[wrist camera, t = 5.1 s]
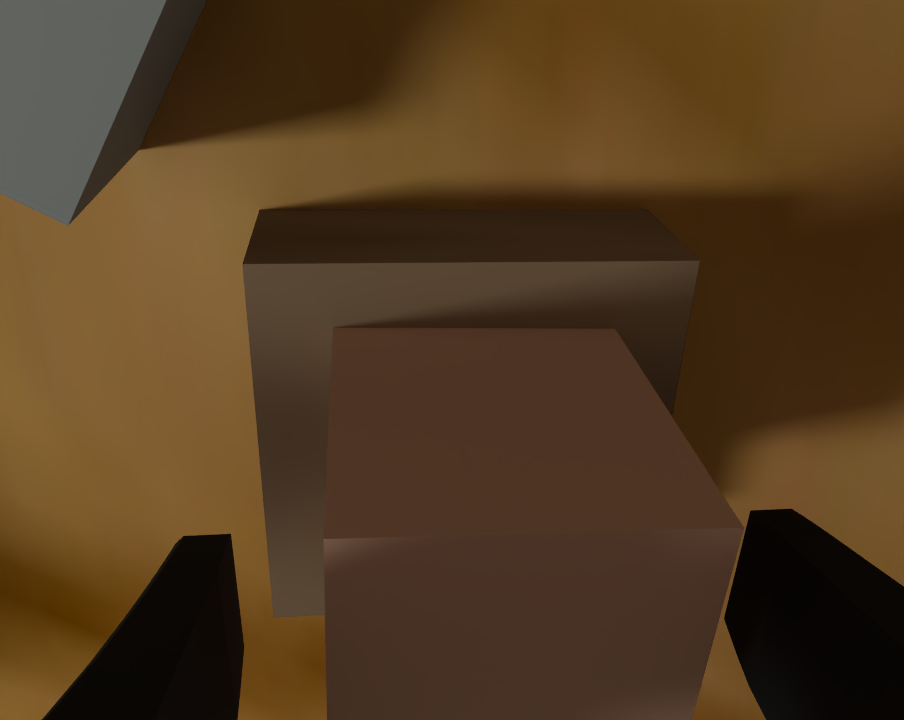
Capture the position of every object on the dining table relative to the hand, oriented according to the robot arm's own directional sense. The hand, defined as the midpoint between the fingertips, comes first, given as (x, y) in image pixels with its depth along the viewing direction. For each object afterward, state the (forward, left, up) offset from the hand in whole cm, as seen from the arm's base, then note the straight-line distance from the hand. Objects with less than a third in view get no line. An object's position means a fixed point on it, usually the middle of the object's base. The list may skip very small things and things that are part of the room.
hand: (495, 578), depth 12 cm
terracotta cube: (0, 0, -3) cm, 3 cm away
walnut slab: (0, 0, -6) cm, 6 cm away
